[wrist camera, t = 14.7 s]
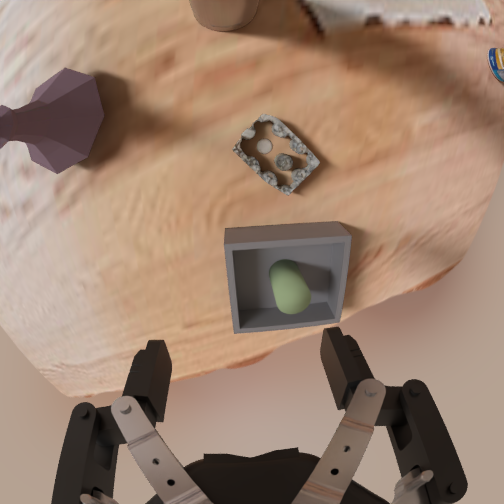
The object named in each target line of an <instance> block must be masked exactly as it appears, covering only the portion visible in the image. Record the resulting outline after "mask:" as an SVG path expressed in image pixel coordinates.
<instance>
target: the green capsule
mask: <svg viewBox="0 0 504 504" xmlns="http://www.w3.org/2000/svg"><path fill="white" fill-rule="evenodd" d="M269 278H270V282H271V285H272V289H273V293H274V296H275V300H276V304H277V307H278V308H279V310H280V311H282V312H283V313H286V314H297V313H300V312H302V311H303V310H305V309H306V308H307V307H308V305H309V304H310V302H311V293H310V291H309V288H308V286H307V284H306V282H305V280H304V278H303V276H302V274H301V272H300V270H299V268H298V266H297V264H296V263H295V262H294V261H292V260H289V259H282V260H278V261H276V262H275V263H274V264H273V265H272V266H271V268H270V270H269Z"/></svg>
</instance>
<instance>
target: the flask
mask: <svg viewBox="0 0 504 504" xmlns="http://www.w3.org/2000/svg"><path fill="white" fill-rule="evenodd" d="M104 116H105V115H104V112H103V108H102V104H101V101H100V97H99V93H98V89H97V85H96V81H95V77H92V76H89V75H86V74H83V73H80V72H77V71H74V70H70V69H67V68H64V69H63V70H61V71H60V72H58V73H57V74H55V75H54V76H53V77H51V78H50V79H48V80H47V81H46V82H44V83H43V84H42V85H40V86H39V87H38V88H36V90H35V92H34V94H33V97H32V99H31V101H30V103H29V104H27V105H25V106H23V107H21V108H19V109H14V110H12V109H10V108H8V107H6V106H3V105H1V106H0V149H1V148H2V147H3V146H4V145H5V144H6V143H7V142H8V141H21V142H25V143H26V145H27V147H28V150H29V153H30V157H31V160H32V161H34V162H36V163H37V164H39V165H41V166H43V167H45V168H47V169H49V170H51V171H53V172H55V173H56V174H58V173H60V172H62V171H64V170H65V169H67V168H69V167H71V166H72V165H74V164H76V163H78V162H80V161H82V160H83V159H85V158H87V157H88V156H89V153H90V150H91V147H92V145H93V142H94V140H95V137H96V135H97V132H98V130H99V127H100V125H101V123H102V120H103V118H104Z"/></svg>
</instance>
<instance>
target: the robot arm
mask: <svg viewBox="0 0 504 504" xmlns="http://www.w3.org/2000/svg"><path fill="white" fill-rule="evenodd" d="M189 2H190V5H191V8H192V11H193V13H194V16H195V18H196V20H197V21H198V22H199V23H200V24H201V25H203V26H204V27H206V28H208V29H211V30H216V31H231V30H235V29H238V28H241V27H243V26H245V25H246V24H248V23H249V22H250V21H251V20H252V19H253V18H254V16H255V14H256V11H257V7H258V3H259V0H189ZM320 355H321V360H322V363H323V366H324V369H325V372H326V375H327V378H328V381H329V384H330V387H331V390H332V393H333V396H334V399H335V403H336V406H337V409H338V410H341V409H345V411H346V413H345V415H344V417H343V419H342V420H341V422H340V424H339V426H338V428H337V430H336V432H335V434H334V436H333V438H332V439H331V441H330V443H329V445H328V447H327V448H326V450H325V452H324V454H323V455H322V457H321V458H319V457H317V456H314V455H311V454H307V453H300V452H299V450H298V447H297V448H290V449H283V450H275V451H272V452H269V453H265V454H263V455H259V456H256V457H251V458H249V457H243V456H236V455H231V454H204V459H201V460H198V461H195V462H193V463H190V464H189V465H187V466H185V467H183V466H182V465H181V463H180V462H179V461H178V459H177V458H176V457H175V456H174V454H173V453H172V452H171V450H170V449H169V448H168V446H167V445H166V443H165V442H164V441H163V439H162V438H161V436H160V435H159V433H158V432H157V430H156V429H155V426H156V422H163V421H164V414H165V407H166V401H167V395H168V390H169V384H170V378H171V373H172V362H171V358H170V356H169V353H168V350H167V347H166V344H165V342H164V340H149V341H148V343H147V347H146V350H140V351H139V352H138V353H137V354H136V355H135V356H134V359H133V362H132V366H131V369H130V373H129V375H128V378H127V381H126V385H125V388H124V391H123V395H122V397H119V398H117V399H116V400H115V401H114V402H113V404H112V405H111V406H106V407H100V408H95V407H94V406H93V405H92V404H90V403H87V402H83V403H80V404H78V405H77V406H75V408H74V409H73V411H72V414H71V418H70V421H69V425H68V428H67V432H66V436H65V439H64V443H63V447H62V451H61V456H60V460H59V464H58V469H57V474H56V479H55V484H54V490H53V496H52V503H51V504H118V503H117V502H116V501H115V500H114V499H113V489H114V478H115V470H116V463H117V455H118V448H119V444H125V443H128V449H129V450H130V452H131V454H132V456H133V457H134V459H135V461H136V462H137V464H138V466H139V467H140V469H141V470H142V472H143V473H144V475H145V477H146V478H147V480H148V481H149V483H150V484H151V486H152V487H153V488H154V490H155V491H156V493H157V494H156V495H155V496H153V497H152V498H151V499H150V500H149V501H148V502H147V503H146V504H390V503H389V502H387V501H386V500H385V499H383V498H381V497H379V496H378V495H376V494H374V493H373V492H371V491H369V490H368V489H366V488H365V487H363V486H361V485H360V484H358V483H357V482H355V481H353V480H352V477H353V476H354V474H355V472H356V470H357V468H358V466H359V464H360V461H361V459H362V457H363V455H364V453H365V451H366V448H367V446H368V444H369V441H370V439H371V436H372V434H373V431H374V426H386V428H387V430H388V434H389V437H390V440H391V443H392V446H393V449H394V453H395V456H396V459H397V463H398V466H399V470H400V473H401V477H402V478H401V479H400V480H399V481H398V482H397V484H396V486H395V490H394V491H395V497H394V500H393V502H392V503H391V504H453V503H455V502H457V501H459V500H460V499H461V498H462V497H463V496H464V495H465V493H466V491H467V486H468V483H467V480H466V477H465V474H464V471H463V468H462V466H461V463H460V460H459V457H458V455H457V453H456V450H455V447H454V445H453V443H452V440H451V438H450V436H449V433H448V431H447V428H446V426H445V424H444V422H443V419H442V417H441V415H440V413H439V411H438V408H437V406H436V404H435V402H434V400H433V398H432V396H431V394H430V392H429V390H428V388H427V386H426V385H425V383H423V382H422V381H420V380H416V379H412V380H408V381H407V382H406V383H405V384H404V385H403V387H394V386H392V387H390V386H385V385H384V384H383V383H382V382H380V381H379V380H376V379H375V378H374V377H373V374H372V373H371V370H370V368H369V366H368V364H367V362H366V360H365V358H364V356H363V354H362V352H361V350H360V348H359V346H358V344H357V342H356V340H354V339H353V338H352V337H351V336H350V335H345V336H343V334H342V332H341V330H340V328H339V327H332V328H325V329H324V330H323V336H322V343H321V349H320Z"/></svg>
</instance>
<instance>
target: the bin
mask: <svg viewBox="0 0 504 504" xmlns="http://www.w3.org/2000/svg"><path fill="white" fill-rule="evenodd" d="M351 239H352V235H351V234H350V233H349V232H348V231H347V230H346V229H345V228H344V227H343V226H342V225H341V224H340V223H339V222H338V221H335V222H315V223H297V224H281V225H265V226H251V227H237V228H225V237H224V249H225V259H226V268H227V277H228V286H229V295H230V304H231V312H232V321H233V329H234V334H237V333H251V332H263V331H273V330H283V329H293V328H301V327H310V326H317V325H325V324H332V323H339V322H340V318H341V313H342V307H343V300H344V294H345V287H346V280H347V273H348V265H349V257H350V248H351ZM282 259H289V260H292V261H294V262H295V263H296V264H297V266H298V268H299V270H300V272H301V274H302V276H303V278H304V280H305V282H306V284H307V286H308V288H309V291H310V293H311V302H310V304H309V305H308V307H307V308H306V309H305V310H303V311H302V312H300V313H297V314H286V313H283V312H282V311H280V310H279V308H278V307H277V304H276V300H275V296H274V293H273V289H272V285H271V282H270V278H269V270H270V268H271V266H272V265H273V264H274V263H275V262H276V261H278V260H282Z"/></svg>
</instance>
